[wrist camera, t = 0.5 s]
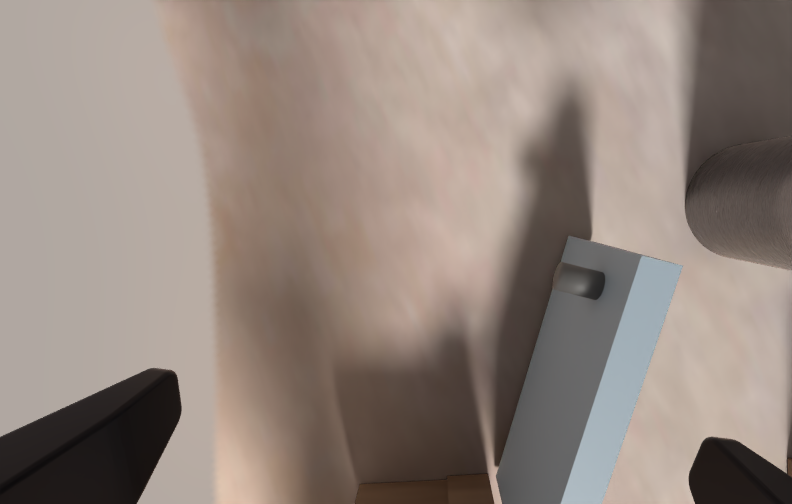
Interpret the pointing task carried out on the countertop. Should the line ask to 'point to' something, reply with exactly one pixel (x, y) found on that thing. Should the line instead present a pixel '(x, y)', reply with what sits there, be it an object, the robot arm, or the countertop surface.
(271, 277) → the countertop surface
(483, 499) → the fence
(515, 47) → the countertop surface
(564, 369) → the gate
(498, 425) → the countertop surface
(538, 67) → the countertop surface
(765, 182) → the grey tall cylinder
